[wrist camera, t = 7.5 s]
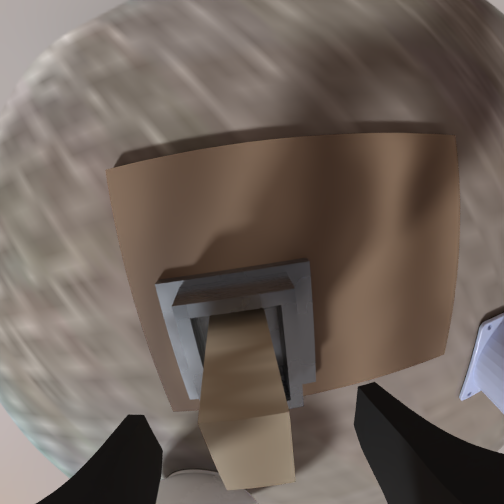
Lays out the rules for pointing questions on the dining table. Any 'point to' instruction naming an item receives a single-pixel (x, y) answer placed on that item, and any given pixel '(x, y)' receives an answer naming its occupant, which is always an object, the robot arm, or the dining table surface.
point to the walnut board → (305, 240)
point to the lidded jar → (199, 489)
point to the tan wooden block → (245, 403)
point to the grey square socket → (241, 299)
